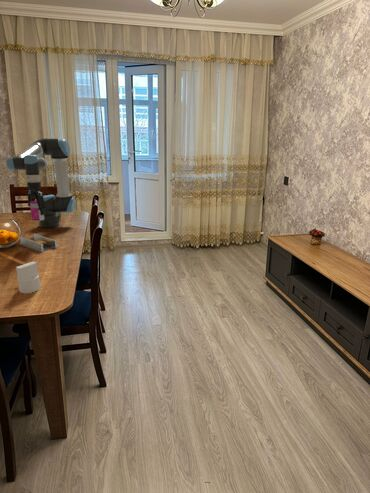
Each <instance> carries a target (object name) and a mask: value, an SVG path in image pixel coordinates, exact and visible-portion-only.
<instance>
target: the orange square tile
mask: <svg viewBox="0 0 370 493" xmlns="http://www.w3.org/2000/svg"><path fill="white" fill-rule="evenodd" d="M35 242H38V243H41V244H46V243H47V242H46V241H43V240H37V241H35Z"/></svg>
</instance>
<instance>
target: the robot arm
mask: <svg viewBox="0 0 370 493" xmlns="http://www.w3.org/2000/svg"><path fill="white" fill-rule="evenodd" d="M69 144H70V143H69V142H68V141H67V139H64V138H41V139H38V140H35V141H33V142H31V143H30V144H29V145H28V147H27V148H26V149H24V150H23V151H21V152H20V153H19V154H17V155H16V156H10V157H7V158H6V166H7V168H8V170H10V171H11V170H13V171H25V178H26V182H27V183H26V186H27V189H28V190H26V192H27V193H26V194H27V206H28V207H30V202H31V201H34V200H36V201H37V204H38V207H39V209H38V211H39V220H38V227H39V228H45V229H47V228H55V227H59V226H60V225H61V224H60V220H58V218H57V215H56V212H61V213H66V214H68V213H73V212H74V211H75V208H76V204H77V203H76V197H75V196H73V194H72V193H71V191H70V182H69V174H68V172H69V171H68V165H67V164H68V163H67V160H68V159H69V156H70V155H71V147H70V145H69ZM41 156H50V158H51V160H52V161H53V165H54V172H55V174H54V175H55V180H56V188H57V189H56V190H57V193H56V195H54V194H48V195H44V192H42V191H40V189H41V188H42V184H41V175H40V174H41V173H40V171H43V170H45V169H46V168H47V164H48V162H47V160H46V159H45V158H43V157H41ZM40 207H41V208H40Z"/></svg>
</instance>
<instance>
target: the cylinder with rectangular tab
mask: <svg viewBox="0 0 370 493" xmlns="http://www.w3.org/2000/svg"><path fill="white" fill-rule="evenodd" d="M38 269H39V267H38V263H37V261H30V262H28V263H27V262H26V263H24V264H22V265H17V266H15V271H16V276H17V283H18V284H17V285H18V290H19V292H20V293H21V294H32V292H33V293H36V292H37V291H39V290H40V289H41V281H40V275H39V270H38ZM35 291H36V292H35Z"/></svg>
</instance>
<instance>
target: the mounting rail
mask: <svg viewBox="0 0 370 493" xmlns="http://www.w3.org/2000/svg"><path fill="white" fill-rule="evenodd" d="M37 240H43V241H46V242H47V243H46V244H41V243H38V242H35V241H37ZM19 241H20V242H19V245H20V246H23V247H26V248H28V249H31V250H33V251H36V252H39V253H43V252H47V251H51V250H54V249H58V248H59V246H58V242H57V240H56V239H52V238H49V237H46V236H43V235H41V234H38V233H33V239H29V238H26V237H23V236H19Z"/></svg>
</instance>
